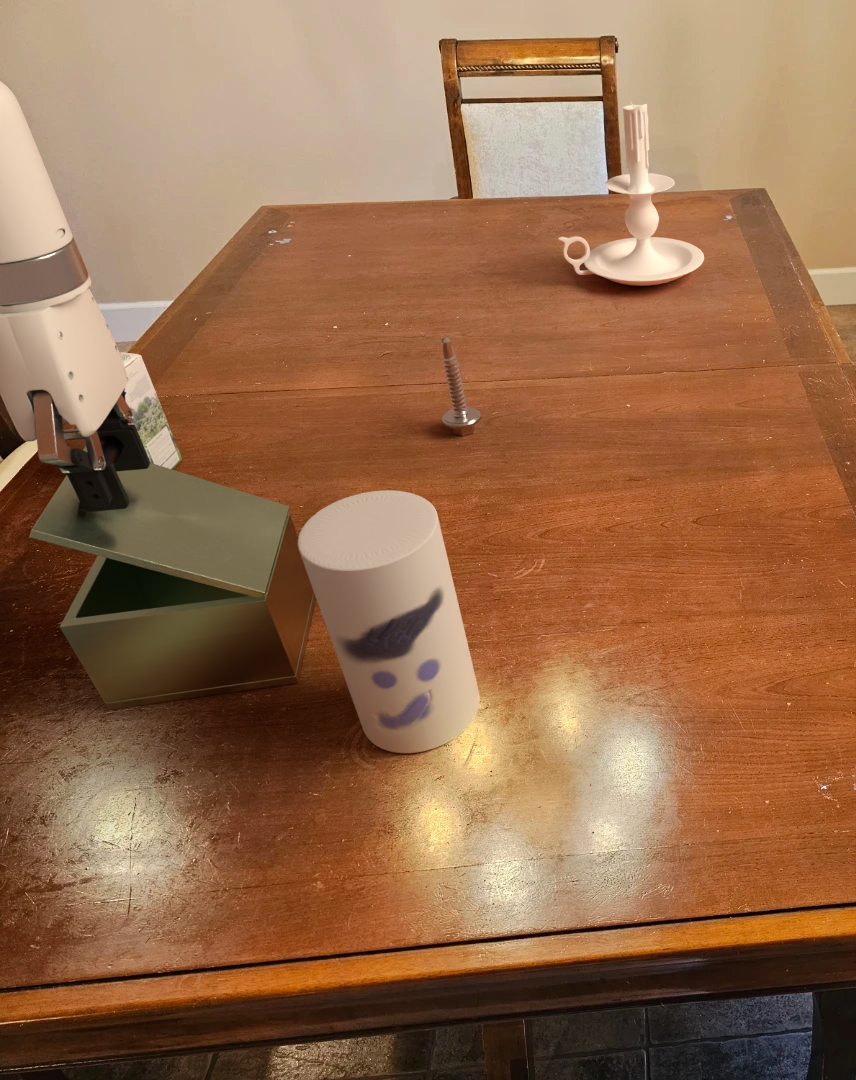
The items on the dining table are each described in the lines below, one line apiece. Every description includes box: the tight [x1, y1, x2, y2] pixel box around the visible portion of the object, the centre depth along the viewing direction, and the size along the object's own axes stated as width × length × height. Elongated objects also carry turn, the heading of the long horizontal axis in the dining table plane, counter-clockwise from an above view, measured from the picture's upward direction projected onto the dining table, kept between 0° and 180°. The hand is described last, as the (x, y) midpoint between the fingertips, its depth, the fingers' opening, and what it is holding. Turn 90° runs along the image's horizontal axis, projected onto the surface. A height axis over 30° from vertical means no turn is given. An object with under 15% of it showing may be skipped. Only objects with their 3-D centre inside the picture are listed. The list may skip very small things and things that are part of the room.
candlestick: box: [557, 100, 705, 287], centre depth 151 cm, size 21×25×28 cm
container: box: [297, 489, 481, 754], centre depth 75 cm, size 10×10×20 cm
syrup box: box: [119, 351, 183, 470], centre depth 107 cm, size 6×6×14 cm
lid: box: [29, 436, 290, 599], centre depth 77 cm, size 17×13×5 cm
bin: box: [59, 513, 317, 711], centre depth 84 cm, size 16×13×10 cm
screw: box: [441, 336, 482, 437], centre depth 115 cm, size 13×5×5 cm
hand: (118, 486), depth 76 cm, fingers closed on lid, 5 cm apart
